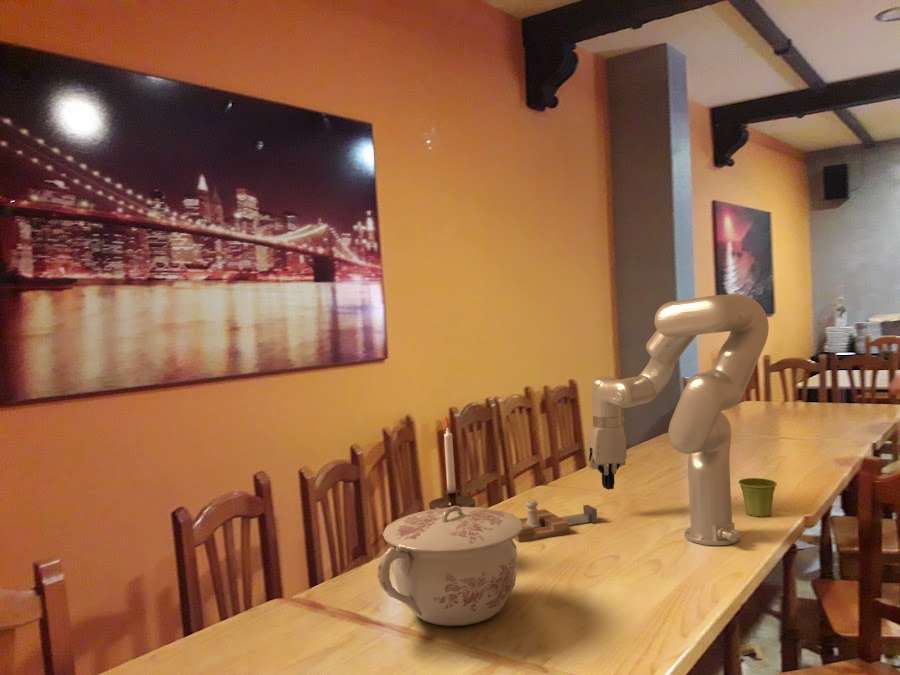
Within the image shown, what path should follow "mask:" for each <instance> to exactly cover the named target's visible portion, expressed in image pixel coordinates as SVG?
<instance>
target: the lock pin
mask: <svg viewBox="0 0 900 675" xmlns="http://www.w3.org/2000/svg"><path fill="white" fill-rule="evenodd" d="M582 507H583V509H582V510H583V513H579V514H571V515H567V516H566V515H565V516H559V517H560V518H561V519H563V520H565V521H567V522H568V526H573V525H580V524H585V523H591V524H595V523H598V511H597V508H596V507H593V506H591V505H589V504H584V505H583V506H582Z"/></svg>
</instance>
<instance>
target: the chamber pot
mask: <svg viewBox="0 0 900 675" xmlns="http://www.w3.org/2000/svg"><path fill="white" fill-rule="evenodd" d="M518 518H519V517H518V516H516V515H514V514H513V515H512V513H509V512H506V511H503V510H500V509H499V510H498V509H492V508H487V507H479V506H478V507H476V506H475V507H459V506H452V507H447V508H439V509H431V510H430V509H426V510H422V511H419V512H415V513H411V514H408V515H406V516H404V517H401V518H398V519H395V520H394V521H392V522H391V523H390V524H388V525H387V526H385V528H384V531H383V532H382V536H383V538H384V540H385V542H386V543H388V544H390V545H391V547H388V549H387V550H385V552H383V554H382V556H381V557H380V558H379V561H378V565H377V579H378V582H379V586H380V587H381V588H382V589H383V591H384V592H385V593H386V594H387V595H388V596H389V597H391V598H393V599H395V600H398V601H400V602H402V603H403V604H404V605H405V606H406V607H408V609H409V610H410V611H411V612H412V613H413V614H414V615H415V616H416V617H417V618H419V619H420V620H422V621H424V622H427V623H430V624H433V625H439V626H447V627H458V626H459V627H462V626H467V625H474V624H478V623H480V622H484V621H485V620H489V619H490V618H492V617H494V616H496V615H497V614H498V613H499V612H500V611H501V610H502V608H503V607H504V606H505V604H506V602H507V600H508V598H509V596H510V595H511V593H512V591H513V589H514V587H515V585H516V580H517V579H516V578H517V573H518V565H519V564H518V551H517V550H518V549H517V545H516V544H515V542H514V540H515V539H514V538H516V537H517V536H518V535H519V533H520V532H521V531H522V530H523V523H522V521H521V520H519V519H520V518H519V519H518ZM391 565H392V566H391ZM391 567H392V573H393V577H394V581H395V586H396V588H397V590H396V589H395V587H394V586H393V585H392V582H391V578H390V572H391V571H390V569H391Z"/></svg>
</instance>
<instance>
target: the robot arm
mask: <svg viewBox="0 0 900 675" xmlns="http://www.w3.org/2000/svg"><path fill="white" fill-rule="evenodd" d="M654 326H655V329H656V331H654V333H653V335H652V336H651V337H650V339H649V340H648V341H647V342H646V344H645V349H646V351H647V353H648V354H649V356H650V359H649V362H648V363H647V364H646V366H645V367H644V368H643V369H642V371H641V372H640V373H639V374H638V376H633V377H626V378H622V379H618V377H616V376H615V377H614V376H598V377H594V378H593V379H592V382H591V400H592V403H591V404H592V405H591V406H592V426H590V427H589V431H588V437H587V446H586V447H587V448H586V452H587V453H586V454H587V455H586V459H587V461H588V462H589V468H590V469H592V470H597V471H598V472H599V473H600V474H601V485H602V488H604V489H607V490H614V489H615V475H616V474H617V471H618V470H619V468H621V467H624V466H626V464H627V462H626V460H627V452H628V450H627V442H626V435H625V431H624V426H622V422H625V417H624V416H623V415H621V412H622V410H621V408H622V409H623V408H625V409H626V408H632V407H636V406H640V405H643V404H647V403H650V402H652V401H653V400H654V399H655V398H656V397H657V396H658V395H659V394H660V392H662V390H663V389H664V388H665V387H666V385H667V384H668V383H669V381H670V380H671V378H672V375H673V371H674V369H675V364H676V362H677V361H678V360H679V358H680V357H681V356H682V355H683V353H684V352H685V351H686V350H687V349H688V347H689V346H690V345H691V343H692V342H693V341H694V340H695V338H696V337H697V336H699V335H706V334H717V333H725V332H729V334H728V337H727V339H726V340H725V341H724V343H723V344H722V345H721V347H720V350H719V351H718V354H717V357H716V359H715V361H714V363H713V365H712V367H711V368H710V369H709V371H705V372H701V373H699V374H696V375H695V376H694V377H692V378H690V380H689V381H688V382H687V383H686V385H685V386H684V388H683V391H682V393H681V396H680V397H679V399H678V402H677V404H676V407H675V410H674V412H673V413H672V417H671V419H670V422H669V424H668V425H669V426H668V439H669V440H668V441H669V442H670V444H671V446H672V447H673V448H674V449H675V450H676V451H678V452H679V453H681V454H683V455H688V456H687V457H688V459H687V460H688V461H687V471H688V472H687V473H688V474H687V476H688V477H687V480H688V497H689V499H688V500H689V516H690V527H688V528H687V529H685V530H684V538H685V539H687V540H688V541H690V542H692V543H696V544H699V545H707V546H728V545H733V544H736V543H738V542H739V541H740V540H741V539H740V538H741V536H742V532H741V531H739V530H735V529H736V527H735V522H733V517H732V516H733V512H732V494H731V493H732V492H731V470H730V469H731V468H730V467H731V466H730V452H731V451H730V450H731V442H732V441H731V440H732V427H731V423H730V420H729V418H728V417H727V416H726V414H725V413H723V411H727V410H730V409H733V408H734V407H736V406H737V405H738V404H739V403H740V402H741V400H742V398H743V396H744V395H745V391H746V389H747V387H748V385H749V382H750V380H751V377H752V375H753V373H754V370H755V368H756V365H757V363H758V361H759V359H760V357H761V355H762V353H763V350H764V348H765V346H766V344H767V339H768V337H769V336H768V335H769V328H770V326H769V319H768V317H767V313H766V312H765V310H764V308H763V306H762V305H761V304H760V303H759V302H758V301H757V300H755V299H754V298H752V297H750V296H748V295H745V294H738V293H736V294H735V293H734V294H733V293H731V294H715V295H714V294H713V295H708V296H702V297H701V296H700V297H696V298H695V297H694V298H689V299H683V300H682V299H681V300H674V301H668V302H666V303H663V304H662V305H661V306H660V307H659V308H658V309H657V310H656V313H655V315H654Z"/></svg>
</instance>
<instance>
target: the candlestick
mask: <svg viewBox="0 0 900 675" xmlns="http://www.w3.org/2000/svg"><path fill="white" fill-rule="evenodd" d="M444 420H445V427H446V430H445V433H444V434H443V436H444V454H445V467H446V468H445V469H446V470H445V471H446V485H447V486H446V487H447V489H446V490H443V491H442V492H443V493H444V494H447V496H444V497H439V498H435V499H433V500H431V501H430V502H429V503H428V507H429V508H428V510H431V509H439V508H447V507H452V506H459V507H476V505H477V504H476V503H477V502H476V499H474V498H472V497H468V496H461V495H460V496H459V495H457V493H459V492H461V490H460V489H457V488H456V476H455V461H454V460H455V458H454V457H455V456H454V444H453V433H451V431H450V422H449V421H450V420H449V419H448V418H447V414H445V416H444Z"/></svg>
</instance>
